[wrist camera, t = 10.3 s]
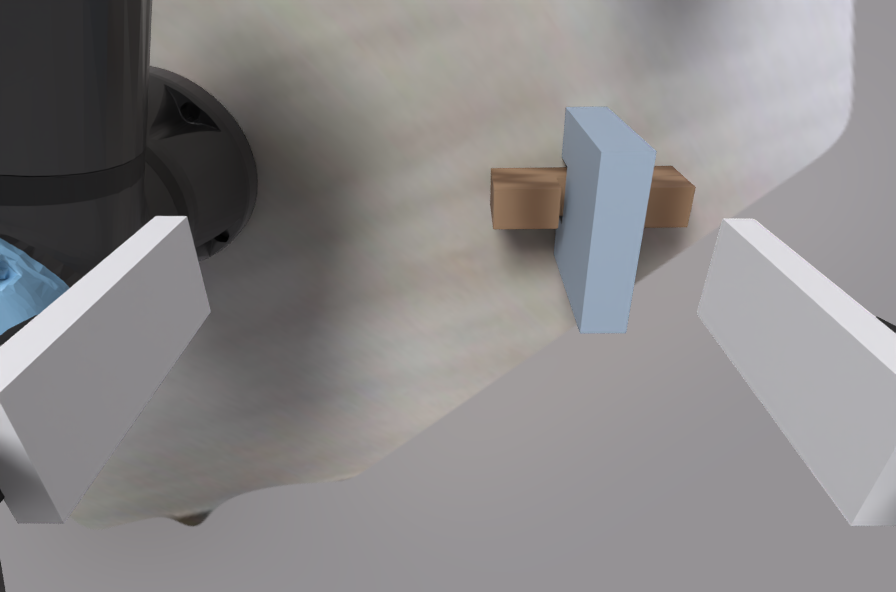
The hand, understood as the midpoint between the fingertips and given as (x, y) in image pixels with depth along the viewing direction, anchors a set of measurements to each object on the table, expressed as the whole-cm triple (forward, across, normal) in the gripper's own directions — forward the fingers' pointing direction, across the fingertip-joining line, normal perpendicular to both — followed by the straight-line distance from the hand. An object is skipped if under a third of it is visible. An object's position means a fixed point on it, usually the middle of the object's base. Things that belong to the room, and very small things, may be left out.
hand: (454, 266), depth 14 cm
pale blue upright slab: (+30, +10, -8) cm, 33 cm away
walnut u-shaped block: (+30, +10, -8) cm, 33 cm away
